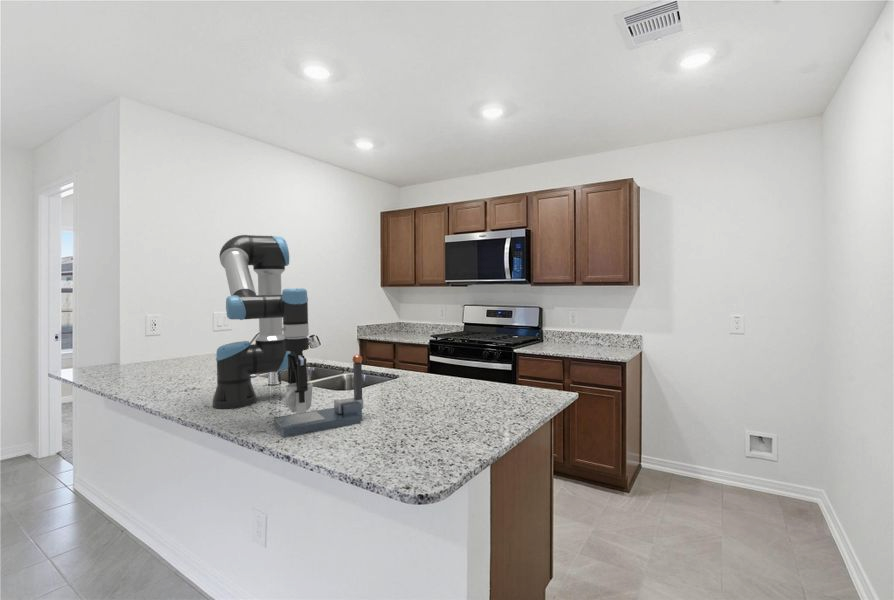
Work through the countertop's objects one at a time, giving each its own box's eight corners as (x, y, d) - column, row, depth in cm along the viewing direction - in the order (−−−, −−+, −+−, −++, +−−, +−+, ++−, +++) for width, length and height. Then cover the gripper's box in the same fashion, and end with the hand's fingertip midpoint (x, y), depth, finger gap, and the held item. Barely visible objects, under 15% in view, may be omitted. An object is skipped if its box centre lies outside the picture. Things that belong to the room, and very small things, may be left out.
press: (274, 425, 142) (273, 408, 142) (349, 412, 156) (349, 396, 155) (283, 437, 130) (283, 419, 130) (365, 422, 144) (364, 405, 144)
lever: (334, 410, 148) (332, 356, 147) (360, 406, 153) (359, 353, 152) (339, 414, 144) (337, 358, 143) (365, 409, 149) (364, 355, 148)
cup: (298, 416, 132) (297, 389, 132) (275, 415, 134) (274, 388, 134) (318, 407, 142) (317, 382, 142) (296, 405, 144) (296, 381, 144)
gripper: (276, 335, 145) (278, 404, 146) (291, 341, 128) (293, 419, 128) (300, 334, 149) (301, 401, 150) (317, 339, 132) (319, 415, 132)
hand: (298, 409), depth 139 cm, fingers closed on cup, 7 cm apart
